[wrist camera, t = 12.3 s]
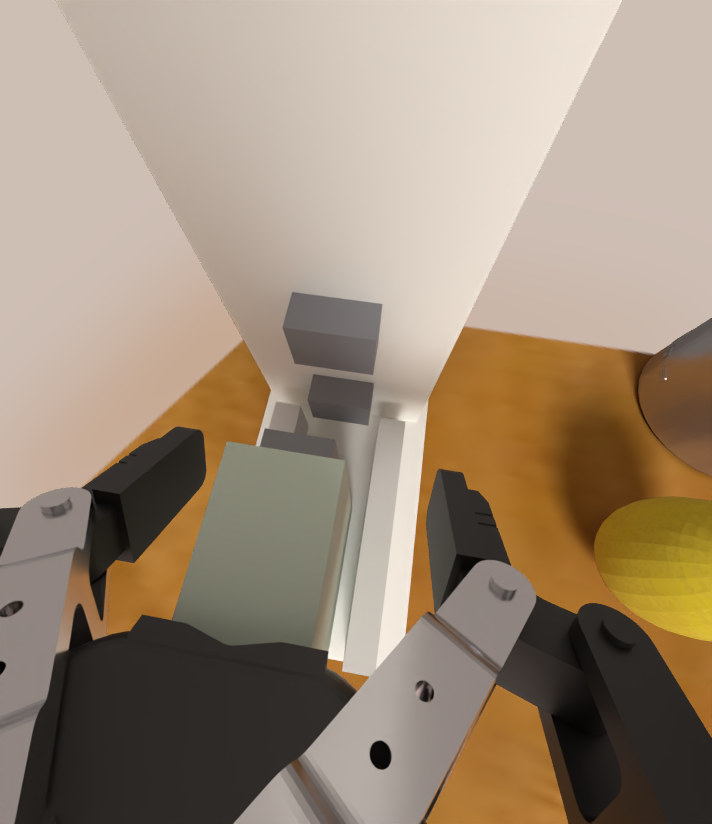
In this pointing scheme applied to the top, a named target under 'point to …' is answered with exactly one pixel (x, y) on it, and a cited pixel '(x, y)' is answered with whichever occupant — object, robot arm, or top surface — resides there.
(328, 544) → the pale green slab
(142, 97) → the white tall l-shaped piece
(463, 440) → the top surface
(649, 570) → the lemon
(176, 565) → the top surface
